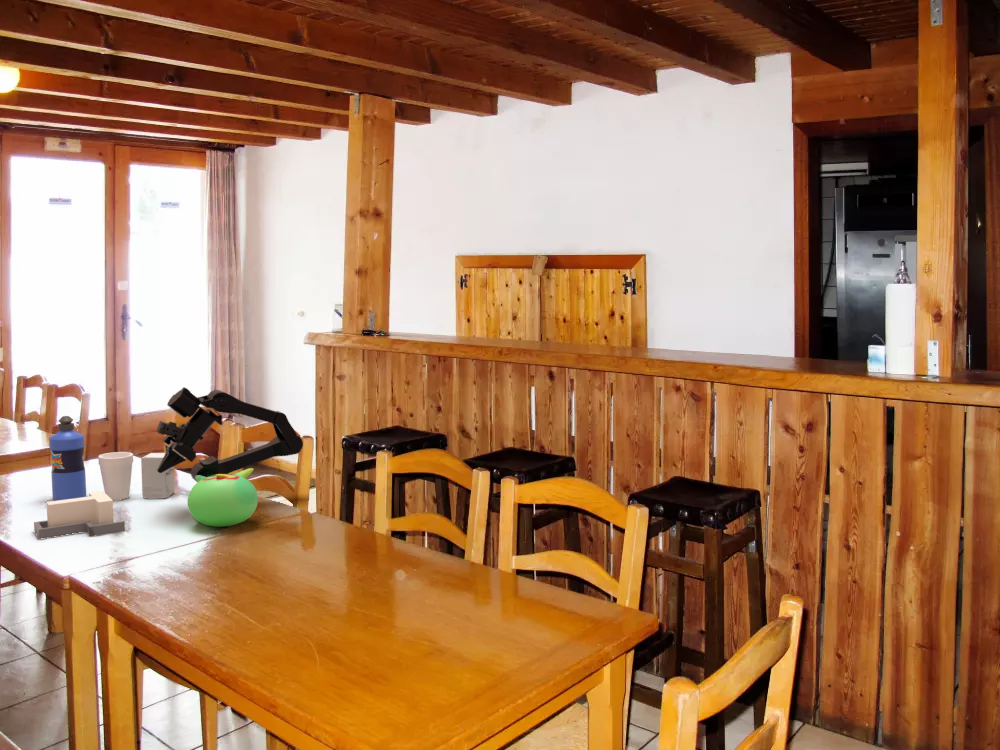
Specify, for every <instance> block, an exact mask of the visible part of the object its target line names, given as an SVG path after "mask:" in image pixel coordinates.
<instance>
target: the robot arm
mask: <svg viewBox="0 0 1000 750" xmlns="http://www.w3.org/2000/svg"><path fill="white" fill-rule="evenodd" d="M200 405H201V406H200ZM167 407H169V409H171V410H173V411H174V412H175V413H177V414H178V415H179V416H181V418H184V419H185V418H187V417H188V418H189V419H188V421H187V422H186V423H181V425H180V426H178V425H177V423H176V422H173V421H169V422H166V421H162V420H160V421H159V423H158V424H157V425H158V426H157V428H156V430H155V432H157V433H158V434H160V435H164V437H163V438H162V439H161V440H162V442H163V443H164V450H165V452H164V453H165V455H164V457H163V459H162V461H161V463H160V465H159V467H158V469H157V471H158V472H159V473H162V472H164V471H166V470H168V469H170V468H171V467H173V466H174V467H175V466H177V465H179V464H181V463H184V462H186V460H187V461H189V462H191V463H193V462H194V460H195V459H196V458H197V453H196V451H195V450H194V447H195V446H196V445H197V443H198V442H199V441H203V439H204V435H205V434H206V432H208V430H209V429H210V428H211V427H212V425H213V424H214V423H216V424H218V425H220V426H223V418H222V417H223V416H222V415H221V414H220V413H225V414H237V415H238V414H239V415H242V416H243V415H244V416H247V417H249V418H253V419H257V420H260V421H263V422H267V423H270V424H272V426H273V429H274V433H275V435H276V436H275V437H274V438H272V439H271V440H270V441H269V442H267V443H266V444H261V445H259V446H257V447H255V448H251V449H249V450H246V451H243V452H240V453H237V454H234V455H231V456H228V457H225V458H222V459H218V458H216V457H215V456H213V455H211V456H209V457H207V458H205V459H198V462H196V463H195V464H193V465H192V467H191V471H190V476H191V478H192V479H193V480H194V481H195V482H196V483H197V481H196V479H195V476H196V475H201V476H204V477H209V476H211V475H216V474H232V473H233V472H236V471H239V470H241V469H245V468H246V467H249V466H252V465H255V464H257V463H261V462H264V461H266V460H269V459H271V458H272V459H273V458H274V457H275V458H276V457H288V456H293V455H298V454H299V453H300V452H301V451H302V449H303V447H304V441H303V439H302V438H301V437H300V436H299V435H298V434H297V433H296V431H295V429H294V427H293V426H292V425H291V423H290V421H289V419H288V417H287V415H286V414H285V413H283V412H281V411H279V410H278V411H277V410H272V409H270V408H266V407H263V406H260V405H256V404H252V403H249V402H246V401H242V400H240V399H238V398H236V397H234V396H232V395H231V394H229V393H227V392H225V391H222V390H219V389H214V390H212V391H210V392H208V394H207V395H206V394H205V395H202V396H199V397H197V395H194V394H193V393H192V392H191V391H190V390H189V389H188V388H187V387H182V388H181V389H180V390H179V391H177V392H176V393H175V394H173V395H171V397H170V399H169V400H168V402H167ZM202 407H204V408H207V409H206V410H205V409H203V408H202ZM211 409H212V410H214V411H215V412H218V413H219V414H216V413H215V412H213V411H212V410H211Z"/></svg>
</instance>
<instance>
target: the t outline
mask: <svg viewBox="0 0 1000 750" xmlns="http://www.w3.org/2000/svg"><path fill="white" fill-rule="evenodd" d="M125 524H126V523H125V521H124V520H120V521H114V522H113V523H106V524H100V525H92V524H91V523H90V522H89V521H88V522H81V523H75V524H68V525H61V526H54V527H48V522H47V519H46V520H41V521H34V522H33V530H34V531H35V532H34V533H35V535H36V534H37V535H36V537H38V538H37V539H39V540H42V539H41V538H45V539H48V538H47V537H51V538H55V537H54V536H58V537H62V536H61V535H65V536H67V535H66V534H71V535H73V534H72V533H78V534H80V533H79V532H84V533H86V534H87V533H88V534H89V535H88V534H87V535H88V536H89V537H95V535H96V536H102V535H109V534H115V533H122V532H126V525H125Z"/></svg>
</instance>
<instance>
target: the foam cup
mask: <svg viewBox="0 0 1000 750" xmlns="http://www.w3.org/2000/svg"><path fill="white" fill-rule="evenodd" d="M97 459H98V465H99V470H100V473H101V474H100V475H101V479H102V485H103V492H104V493H105V494H106V495H107V496H109V497H110V498H111V499H112V500H113V501H121V500H120V499H123V500H126V499H125V498H127V499H128V498H130V494H131V493H130V492H131V484H132V482H131V481H132V471H133V462H134V454H133V453H132V452H129V451H128V452H127V451H118V452H117V451H116V452H115V451H114V452H107V453H103V454H99V455H98V458H97Z"/></svg>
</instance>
